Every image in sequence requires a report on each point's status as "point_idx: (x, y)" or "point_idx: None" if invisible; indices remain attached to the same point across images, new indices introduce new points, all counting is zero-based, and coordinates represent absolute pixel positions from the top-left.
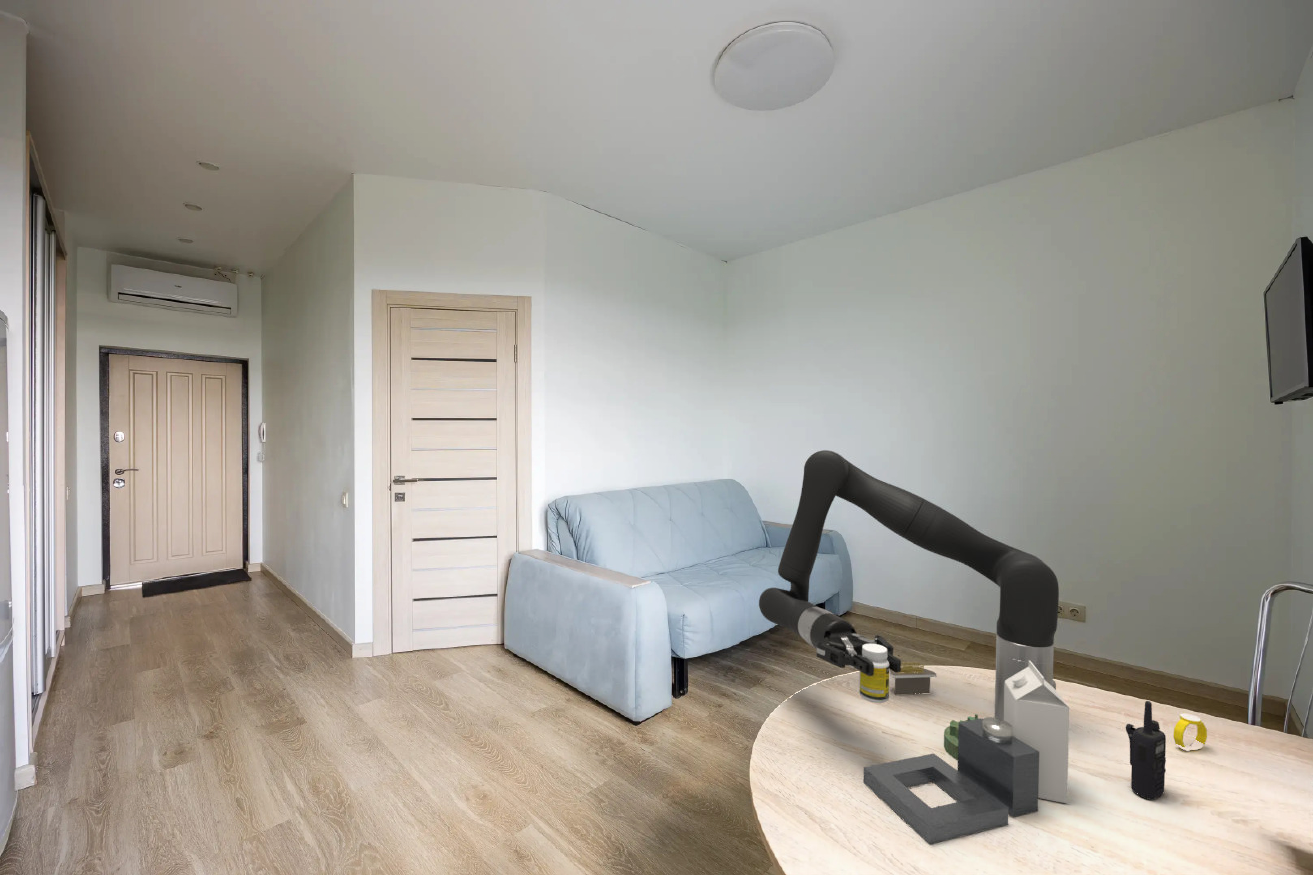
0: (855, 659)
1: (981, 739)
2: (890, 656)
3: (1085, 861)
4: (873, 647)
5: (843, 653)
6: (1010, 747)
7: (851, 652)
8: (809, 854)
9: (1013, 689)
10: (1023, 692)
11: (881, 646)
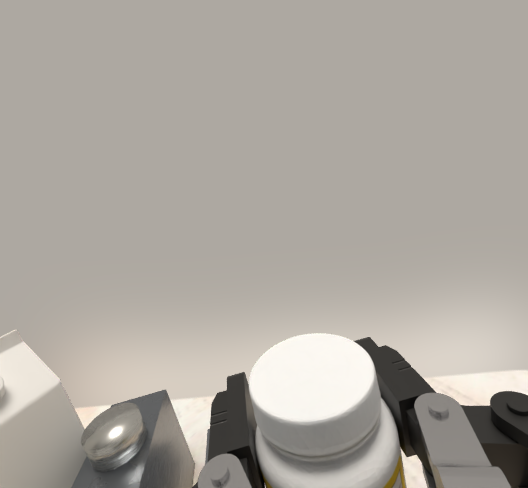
0: (426, 384)
1: (153, 445)
2: (245, 398)
3: (188, 401)
4: (313, 371)
5: (502, 396)
6: (140, 412)
7: (448, 414)
8: (516, 382)
9: (6, 410)
10: (36, 374)
11: (262, 387)
